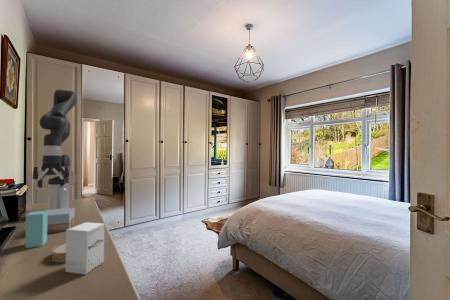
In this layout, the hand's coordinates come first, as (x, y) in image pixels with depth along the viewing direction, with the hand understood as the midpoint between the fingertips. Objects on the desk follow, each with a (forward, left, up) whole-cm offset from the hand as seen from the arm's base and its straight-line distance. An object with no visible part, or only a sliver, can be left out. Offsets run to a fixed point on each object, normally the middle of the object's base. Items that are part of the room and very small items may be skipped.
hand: (51, 187), depth 110 cm
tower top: (+13, +6, -14) cm, 19 cm away
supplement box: (+57, +24, -17) cm, 64 cm away
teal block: (+31, +4, -17) cm, 35 cm away
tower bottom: (+13, +6, -18) cm, 22 cm away
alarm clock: (+45, +20, -18) cm, 52 cm away
